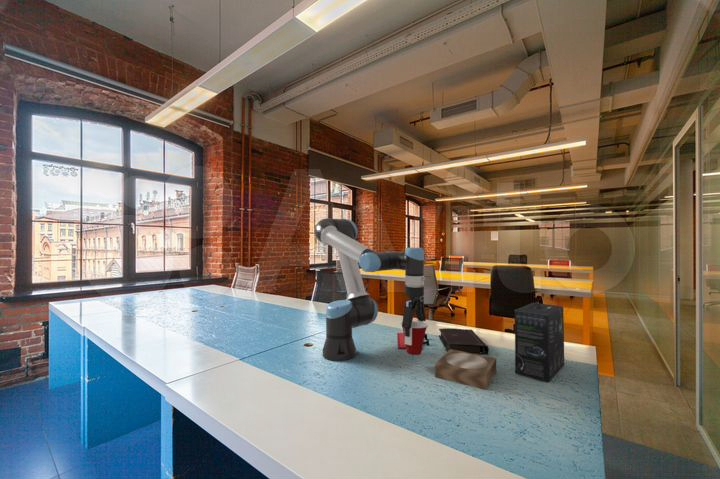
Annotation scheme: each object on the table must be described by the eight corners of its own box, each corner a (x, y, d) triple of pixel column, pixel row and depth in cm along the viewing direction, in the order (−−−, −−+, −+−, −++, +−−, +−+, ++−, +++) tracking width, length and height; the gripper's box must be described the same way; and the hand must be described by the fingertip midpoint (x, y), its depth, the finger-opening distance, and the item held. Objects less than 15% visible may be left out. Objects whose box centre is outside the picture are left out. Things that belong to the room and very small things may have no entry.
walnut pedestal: (435, 377, 115) (434, 363, 115) (450, 361, 130) (450, 348, 130) (486, 389, 105) (486, 374, 105) (496, 370, 119) (496, 357, 119)
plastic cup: (430, 350, 127) (430, 321, 127) (424, 359, 118) (424, 328, 117) (405, 346, 132) (405, 318, 132) (397, 355, 122) (397, 324, 122)
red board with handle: (424, 331, 173) (397, 331, 174) (423, 326, 173) (396, 326, 174) (430, 351, 143) (398, 350, 144) (430, 345, 143) (398, 345, 144)
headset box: (532, 357, 133) (532, 297, 133) (565, 365, 124) (564, 300, 124) (513, 373, 117) (512, 305, 117) (549, 383, 109) (548, 310, 109)
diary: (473, 338, 161) (473, 328, 161) (489, 356, 136) (489, 345, 137) (437, 337, 163) (437, 327, 163) (446, 354, 138) (446, 343, 138)
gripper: (411, 290, 113) (410, 351, 113) (433, 283, 132) (433, 334, 132) (392, 288, 117) (392, 346, 117) (417, 281, 136) (417, 331, 136)
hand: (414, 340), depth 125 cm, fingers closed on plastic cup, 11 cm apart
